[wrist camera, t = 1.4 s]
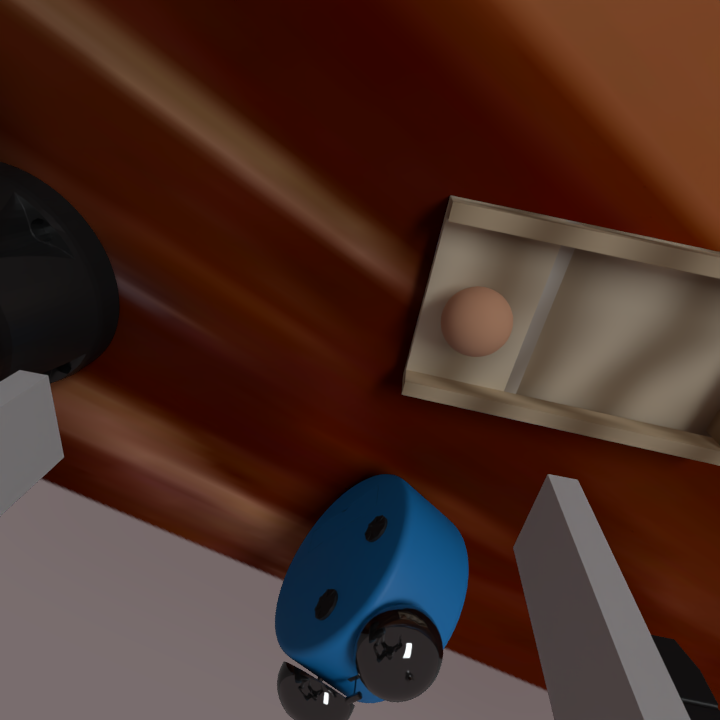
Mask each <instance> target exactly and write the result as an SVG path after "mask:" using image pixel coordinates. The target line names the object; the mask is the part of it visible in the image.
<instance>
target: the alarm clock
mask: <svg viewBox="0 0 720 720" xmlns="http://www.w3.org/2000/svg"><path fill="white" fill-rule="evenodd" d="M467 584H468V557H467V551H466V547H465V543H464V540H463V538H462V536H461V534H460V532H459V530H458V529H457V528H456V526H455V525H454V524H453V523H452V522H451V521H450V520H449V519H448V518H446V517H445V516H444V515H443V514H442V513H441V512H440V511H439V510H437V509H436V508H435V507H434V506H433V505H432V504H431V503H430V502H428V501H427V500H426V499H425V498H424V497H423V496H422V495H420V494H419V493H418V492H417V491H416V490H415V489H414V488H413V487H411V486H410V485H409V484H408V483H407V482H406V481H405V480H403V479H402V478H400V477H398V476H395V475H391V474H382V475H377V476H373V477H370V478H368V479H366V480H364V481H362V482H360V483H358V484H356V485H355V486H353V487H352V488H351V489H349V490H348V491H347V492H345V493H344V494H343V495H342V496H341V497H339V498H338V499H337V500H336V501H335V502H334V503H333V504H332V505H331V506H330V507H329V508H328V509H327V510H326V511H325V513H324V514H323V515H322V516H321V517H320V518H319V520H318V521H317V522H316V524H315V525H314V526H313V528H312V529H311V530H310V532H309V533H308V535H307V536H306V538H305V539H304V541H303V542H302V544H301V546H300V547H299V549H298V551H297V553H296V555H295V556H294V558H293V560H292V562H291V564H290V566H289V569H288V571H287V573H286V576H285V578H284V581H283V584H282V587H281V590H280V594H279V598H278V602H277V607H276V615H275V630H276V636H277V640H278V642H279V645H280V647H281V648H282V650H283V651H284V652H285V653H286V654H287V655H288V656H289V657H290V658H292V659H293V660H295V661H296V662H297V663H299V664H301V665H302V666H303V667H305V668H306V669H308V670H309V671H311V672H312V673H313V674H315V675H317V676H318V679H316V678H314V677H313V676H311V675H309V674H307V673H306V672H304V671H303V670H301V669H299V668H297V667H295V666H293V665H291V664H289V663H287V662H283V664H282V666H281V668H280V671H279V674H278V680H277V690H278V695H279V699H280V701H281V704H282V706H283V707H284V709H285V711H286V713H287V714H288V715H289V716H290V717H292V718H293V719H294V720H348V719H349V718H350V716H351V714H352V712H353V709H354V706H355V705H353V702H356V701H358V702H363V703H376V702H381V701H384V700H386V701H390V702H403V701H408V700H411V699H413V698H415V697H417V696H419V695H421V694H422V693H423V692H424V691H426V690H427V689H428V688H429V687H430V686H431V685H432V683H433V682H434V680H435V679H436V677H437V675H438V673H439V670H440V667H441V663H442V659H443V649H444V648H445V646H446V644H447V643H448V641H449V639H450V637H451V635H452V633H453V631H454V629H455V627H456V624H457V622H458V619H459V617H460V614H461V611H462V608H463V604H464V600H465V596H466V591H467ZM323 680H324V681H325V682H327V683H328V684H330V685H331V686H332V687H334V688H335V689H337V690H338V691H340V692H341V693H343V694H344V695H346V696H347V697H346V698H345V697H344V696H342V695H341V694H339V693H338V692H336V691H335V690H333V689H332V688H330V687H329V686H327V685H325V684H324V683H322V681H323Z"/></svg>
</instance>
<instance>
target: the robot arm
mask: <svg viewBox="0 0 720 720" xmlns="http://www.w3.org/2000/svg"><path fill="white" fill-rule="evenodd" d="M118 317H119V295H118V288H117V283H116V279H115V275H114V272H113V269H112V266H111V264H110V261H109V259H108V257H107V255H106V252H105V250H104V248H103V247H102V245H101V243H100V241H99V240H98V238H97V236H96V235H95V233H94V232H93V230H92V229H91V228H90V226H89V225H88V224H87V222H86V221H85V220H84V218H83V217H82V216H81V215H80V214H79V213H78V211H77V210H76V209H75V208H74V207H73V206H72V205H71V204H70V203H69V202H68V201H67V200H66V199H64V198H63V197H62V196H61V195H60V194H59V193H57V192H56V191H55V190H54V189H52V188H51V187H50V186H48V185H47V184H46V183H44V182H42V181H41V180H39V179H38V178H36V177H34V176H33V175H31V174H29V173H27V172H25V171H23V170H21V169H19V168H16V167H14V166H11V165H8V164H5V163H2V162H0V516H1V515H2V514H3V513H4V512H6V511H7V510H8V509H9V508H10V507H11V506H12V505H13V504H14V503H15V502H16V501H17V500H18V499H20V498H21V496H23V495H24V494H25V493H26V492H27V491H28V490H29V489H30V488H31V487H32V486H33V485H34V484H36V483H37V482H38V481H39V480H40V479H41V478H42V477H43V476H44V475H45V474H46V473H48V472H49V471H50V470H51V469H52V468H53V467H54V466H55V465H56V464H57V463H58V462H59V461H60V460H62V459H63V458H64V454H63V449H62V444H61V439H60V434H59V428H58V423H57V418H56V413H55V408H54V403H53V398H52V393H51V387H50V383H52V382H56V381H59V380H62V379H64V378H66V377H68V376H71V375H73V374H74V373H76V372H77V371H79V370H80V369H82V368H83V367H85V366H86V365H88V364H89V363H91V362H92V361H94V360H95V359H96V358H98V357H99V356H100V355H101V354H102V353H103V352H104V351H105V349H106V348H107V347H108V345H109V344H110V342H111V340H112V338H113V336H114V334H115V331H116V327H117V323H118ZM513 548H514V552H515V557H516V561H517V565H518V569H519V573H520V578H521V582H522V586H523V590H524V594H525V598H526V603H527V607H528V611H529V615H530V619H531V624H532V628H533V632H534V636H535V640H536V645H537V649H538V653H539V657H540V661H541V665H542V670H543V674H544V678H545V682H546V686H547V691H548V695H549V699H550V703H551V707H552V711H553V716H554V720H720V711H719V710H718V703H717V701H716V700H715V698H714V696H713V694H712V692H711V690H710V688H709V686H708V684H707V683H706V681H705V679H704V677H703V675H702V673H701V671H700V670H699V669H698V667H697V666H696V665H695V664H694V663H693V661H692V660H691V659H690V658H689V657H688V655H687V654H686V653H685V652H684V651H683V650H682V648H681V647H680V646H679V645H678V644H677V642H676V641H675V640H674V639H669V638H664V637H659V636H654V635H651V634H650V632H649V630H648V628H647V626H646V624H645V622H644V620H643V617H642V615H641V613H640V611H639V609H638V607H637V605H636V603H635V600H634V598H633V596H632V594H631V592H630V590H629V588H628V586H627V583H626V581H625V579H624V577H623V575H622V573H621V571H620V569H619V566H618V564H617V562H616V560H615V558H614V556H613V554H612V552H611V549H610V547H609V545H608V543H607V541H606V539H605V537H604V535H603V532H602V530H601V528H600V526H599V524H598V522H597V520H596V518H595V515H594V513H593V511H592V509H591V507H590V505H589V503H588V501H587V498H586V496H585V494H584V492H583V490H582V488H581V486H580V484H579V481H578V480H575V479H570V478H565V477H560V476H555V475H550V474H548V475H547V477H546V479H545V481H544V483H543V485H542V488H541V490H540V492H539V494H538V496H537V498H536V500H535V502H534V505H533V507H532V509H531V511H530V513H529V515H528V517H527V519H526V522H525V524H524V526H523V528H522V530H521V532H520V534H519V536H518V539H517V541H516V543H515V545H514V547H513Z"/></svg>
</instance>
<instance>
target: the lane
mask: <svg viewBox="0 0 720 720" xmlns="http://www.w3.org/2000/svg"><path fill="white" fill-rule="evenodd" d="M476 286H478V287H486V288H490V289H492V290H494V291H496V292H498V293H499V294H501V295H502V296H503V297H504V298H505V299H506V301H507V302H508V304H509V305H510V308H511V311H512V314H513V328H512V332H511V334H510V336H509V338H508V340H507V342H506V343H505V344H504V345H503V346H502V347H501V348H500V349H499V350H497V351H495V352H494V353H492V354H489V355H486V356H482V357H471V356H466V355H463V354H461V353H459V352H457V351H455V350H454V349H453V348H452V347H451V346H450V345H449V344H448V343H447V341H446V340H445V338H444V336H443V333H442V330H441V315H442V311H443V309H444V307H445V305H446V303H447V302H448V300H449V299H450V298H451V297H452V296H453V295H455V294H456V293H457V292H459V291H461V290H463V289H466V288H469V287H476ZM402 395H406V396H410V397H415V398H419V399H424V400H428V401H433V402H437V403H442V404H446V405H451V406H455V407H460V408H464V409H469V410H473V411H478V412H482V413H487V414H491V415H496V416H500V417H504V418H509V419H513V420H518V421H522V422H527V423H531V424H536V425H540V426H545V427H549V428H554V429H558V430H563V431H567V432H572V433H576V434H581V435H585V436H590V437H594V438H599V439H603V440H608V441H612V442H616V443H621V444H625V445H630V446H634V447H639V448H643V449H648V450H652V451H657V452H661V453H666V454H670V455H675V456H679V457H684V458H688V459H693V460H697V461H702V462H706V463H711V464H715V465H719V466H720V252H717V251H713V250H708V249H703V248H698V247H694V246H689V245H684V244H679V243H675V242H670V241H665V240H660V239H655V238H651V237H646V236H641V235H636V234H632V233H627V232H622V231H617V230H613V229H608V228H603V227H598V226H594V225H589V224H584V223H579V222H575V221H570V220H565V219H560V218H556V217H551V216H546V215H541V214H537V213H532V212H527V211H522V210H518V209H513V208H508V207H503V206H499V205H494V204H489V203H484V202H480V201H475V200H470V199H465V198H461V197H456V196H451V195H450V198H449V202H448V206H447V209H446V213H445V217H444V221H443V225H442V228H441V232H440V236H439V240H438V244H437V247H436V251H435V255H434V259H433V263H432V266H431V270H430V274H429V278H428V282H427V286H426V289H425V293H424V297H423V301H422V305H421V308H420V312H419V316H418V320H417V324H416V327H415V331H414V335H413V339H412V343H411V346H410V350H409V354H408V358H407V362H406V365H405V369H404V373H403V384H402Z"/></svg>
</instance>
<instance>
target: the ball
mask: <svg viewBox="0 0 720 720" xmlns="http://www.w3.org/2000/svg"><path fill="white" fill-rule="evenodd" d="M512 328H513V314H512V311H511V308H510V305H509V304H508V302H507V301H506V299H505V298H504V297H503V296H502V295H501V294H499V293H498V292H496V291H494V290H492V289H490V288H486V287H478V286H476V287H469V288H466V289H463V290H461V291H459V292H457V293H456V294H455V295H453V296H452V297H451V298H450V299H449V300H448V302H447V303H446V305H445V307H444V309H443V311H442V315H441V330H442V333H443V336H444V338H445V340H446V341H447V343H448V344H449V345H450V346H451V347H452V348H453V349H454V350H455V351H457V352H459V353H461V354H463V355H466V356H471V357H482V356H486V355H489V354H492V353H494V352H495V351H497V350H499V349H500V348H501V347H502V346H503V345H504V344H505V343H506V342H507V340H508V338H509V336H510V334H511V332H512Z"/></svg>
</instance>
